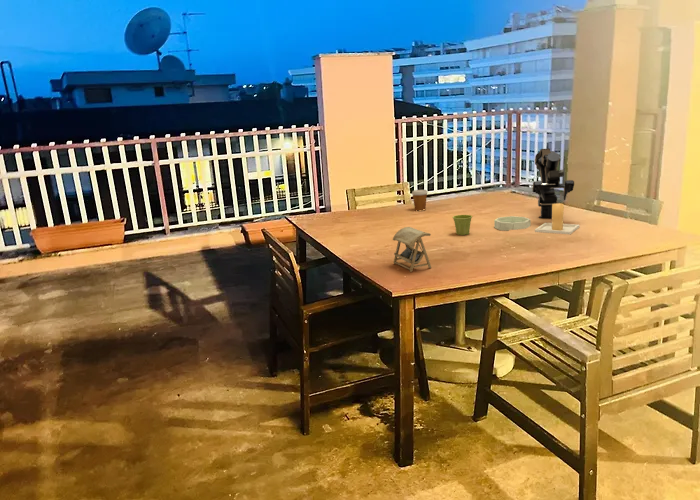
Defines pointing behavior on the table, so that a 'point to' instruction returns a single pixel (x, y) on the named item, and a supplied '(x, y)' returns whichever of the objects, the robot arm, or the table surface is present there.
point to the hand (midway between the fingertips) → (554, 200)
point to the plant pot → (462, 224)
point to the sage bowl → (511, 223)
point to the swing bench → (411, 247)
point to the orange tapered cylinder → (557, 216)
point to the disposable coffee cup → (419, 199)
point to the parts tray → (566, 230)
